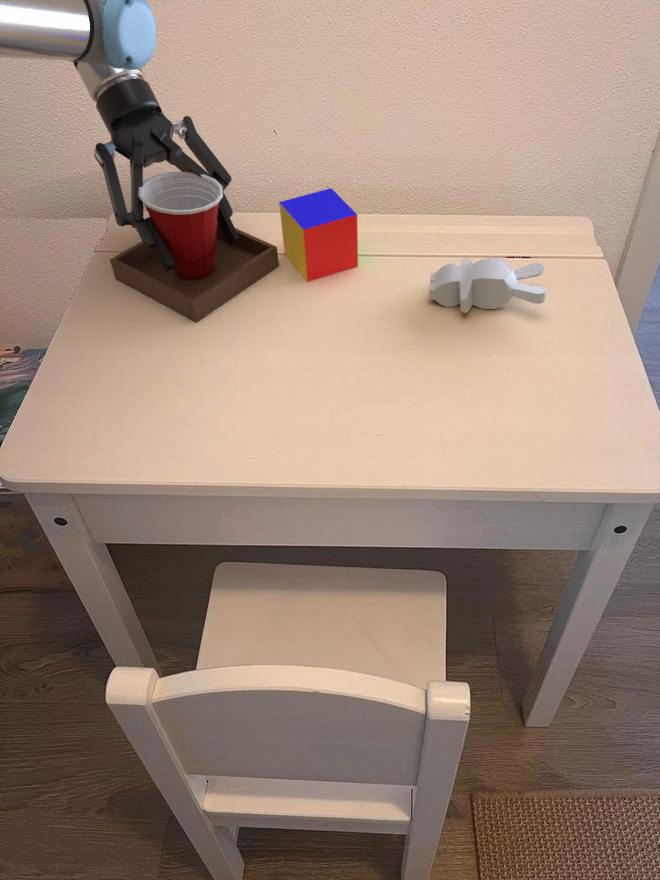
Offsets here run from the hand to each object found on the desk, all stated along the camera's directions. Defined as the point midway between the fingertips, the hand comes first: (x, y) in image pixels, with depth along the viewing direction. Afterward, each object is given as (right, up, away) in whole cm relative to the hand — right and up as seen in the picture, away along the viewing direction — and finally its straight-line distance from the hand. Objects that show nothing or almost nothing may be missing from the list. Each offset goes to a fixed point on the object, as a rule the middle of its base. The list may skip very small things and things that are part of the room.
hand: (203, 254), depth 97 cm
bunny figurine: (+38, -6, 0) cm, 39 cm away
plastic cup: (-2, -1, +5) cm, 5 cm away
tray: (-2, -1, +5) cm, 5 cm away
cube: (+16, +1, +7) cm, 17 cm away
